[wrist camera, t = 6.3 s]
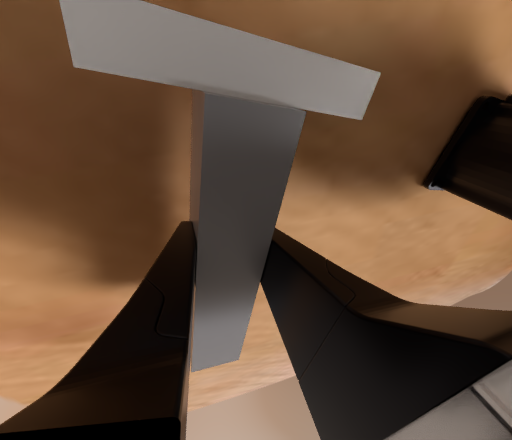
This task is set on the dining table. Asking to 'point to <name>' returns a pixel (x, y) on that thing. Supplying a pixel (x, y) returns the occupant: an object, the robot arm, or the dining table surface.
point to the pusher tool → (222, 137)
